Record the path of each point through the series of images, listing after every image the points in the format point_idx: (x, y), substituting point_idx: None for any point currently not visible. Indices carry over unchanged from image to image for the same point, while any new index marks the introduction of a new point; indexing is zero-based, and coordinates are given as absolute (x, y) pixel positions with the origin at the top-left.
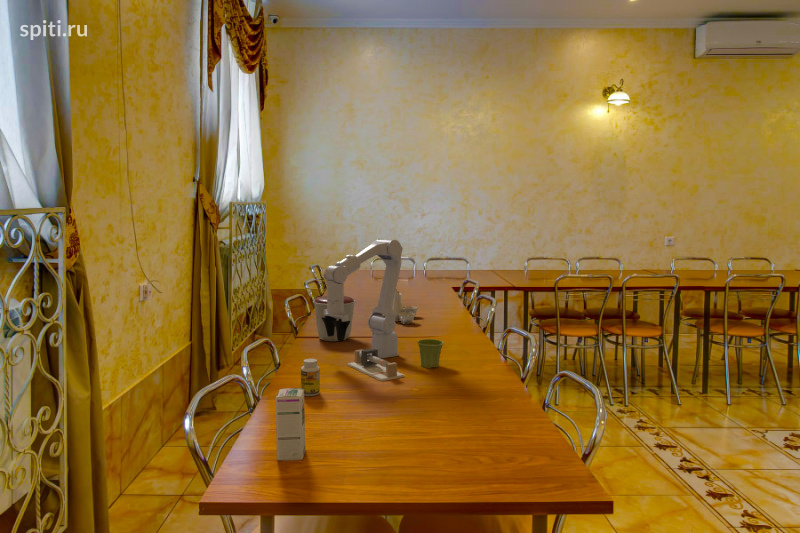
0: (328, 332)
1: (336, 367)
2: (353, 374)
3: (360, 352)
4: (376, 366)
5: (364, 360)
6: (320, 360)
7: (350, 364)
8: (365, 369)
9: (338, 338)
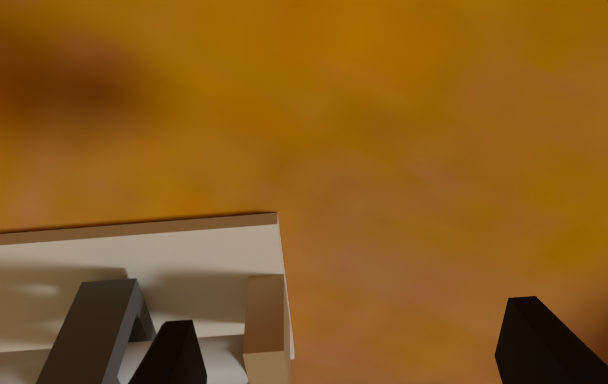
0: (538, 352)
1: (264, 120)
2: (3, 158)
3: (223, 364)
4: None
5: (71, 318)
6: (561, 83)
7: (232, 229)
8: (50, 265)
9: (148, 349)
